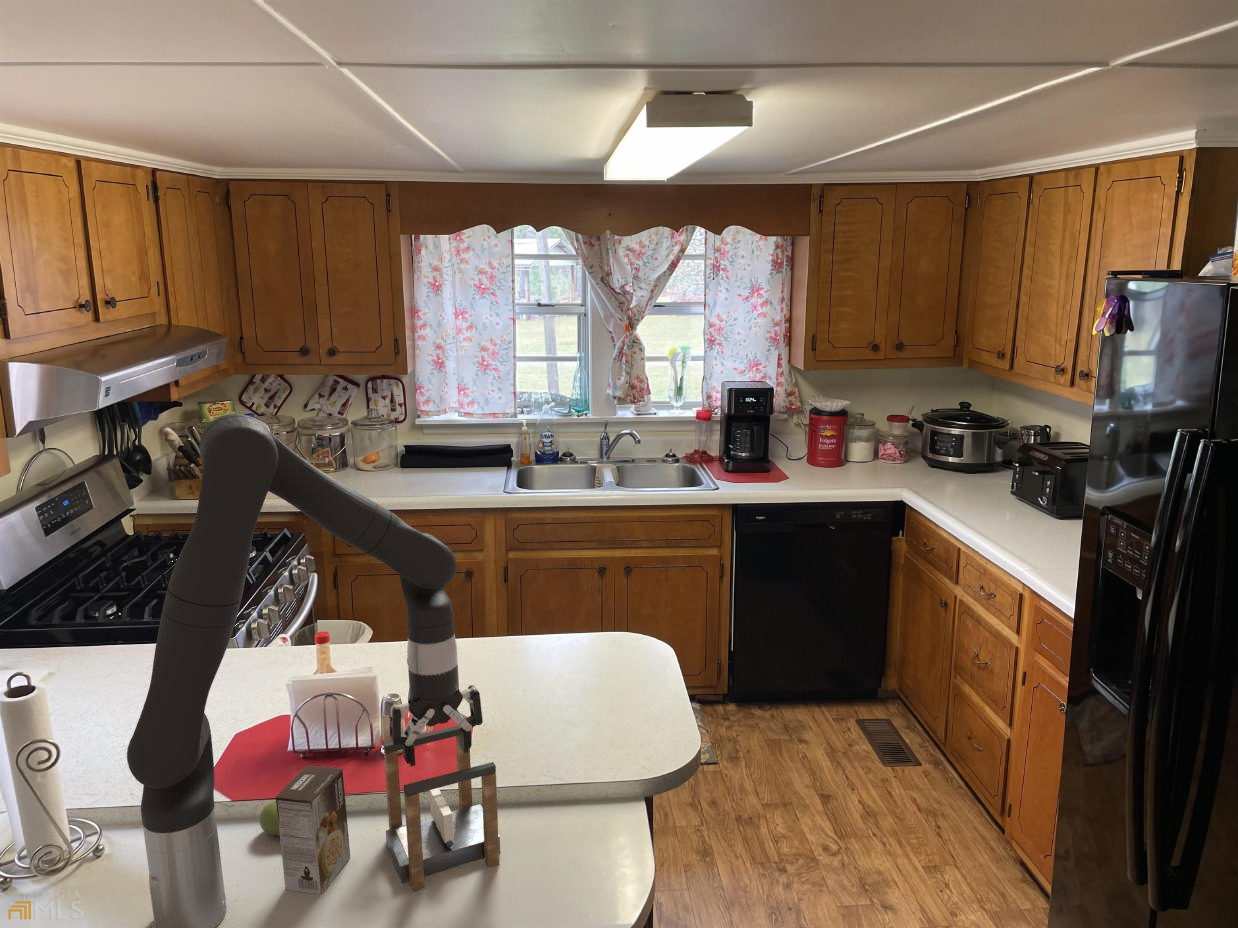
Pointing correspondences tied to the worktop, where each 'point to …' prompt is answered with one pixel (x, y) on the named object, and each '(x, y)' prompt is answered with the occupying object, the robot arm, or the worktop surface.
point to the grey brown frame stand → (464, 802)
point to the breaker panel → (441, 843)
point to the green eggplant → (270, 819)
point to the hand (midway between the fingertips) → (438, 756)
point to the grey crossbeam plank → (449, 779)
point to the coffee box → (313, 829)
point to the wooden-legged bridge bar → (425, 738)
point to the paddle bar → (442, 816)
